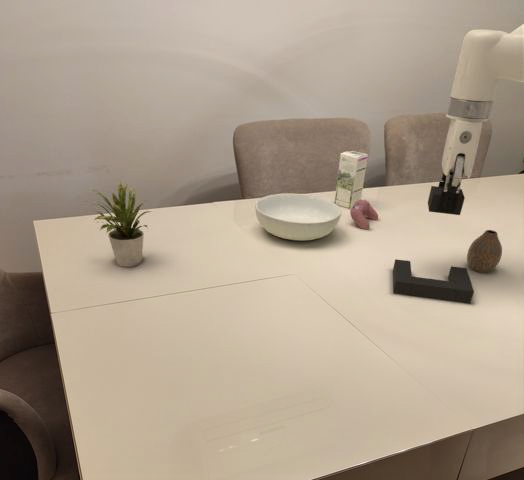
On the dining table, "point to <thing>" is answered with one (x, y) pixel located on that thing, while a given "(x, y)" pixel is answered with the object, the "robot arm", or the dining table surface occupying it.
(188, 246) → the dining table surface
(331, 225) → the serving bowl
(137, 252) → the house plant
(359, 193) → the syrup box
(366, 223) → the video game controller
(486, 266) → the vase
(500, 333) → the dining table surface
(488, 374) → the dining table surface
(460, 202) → the black block
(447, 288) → the notched pad
